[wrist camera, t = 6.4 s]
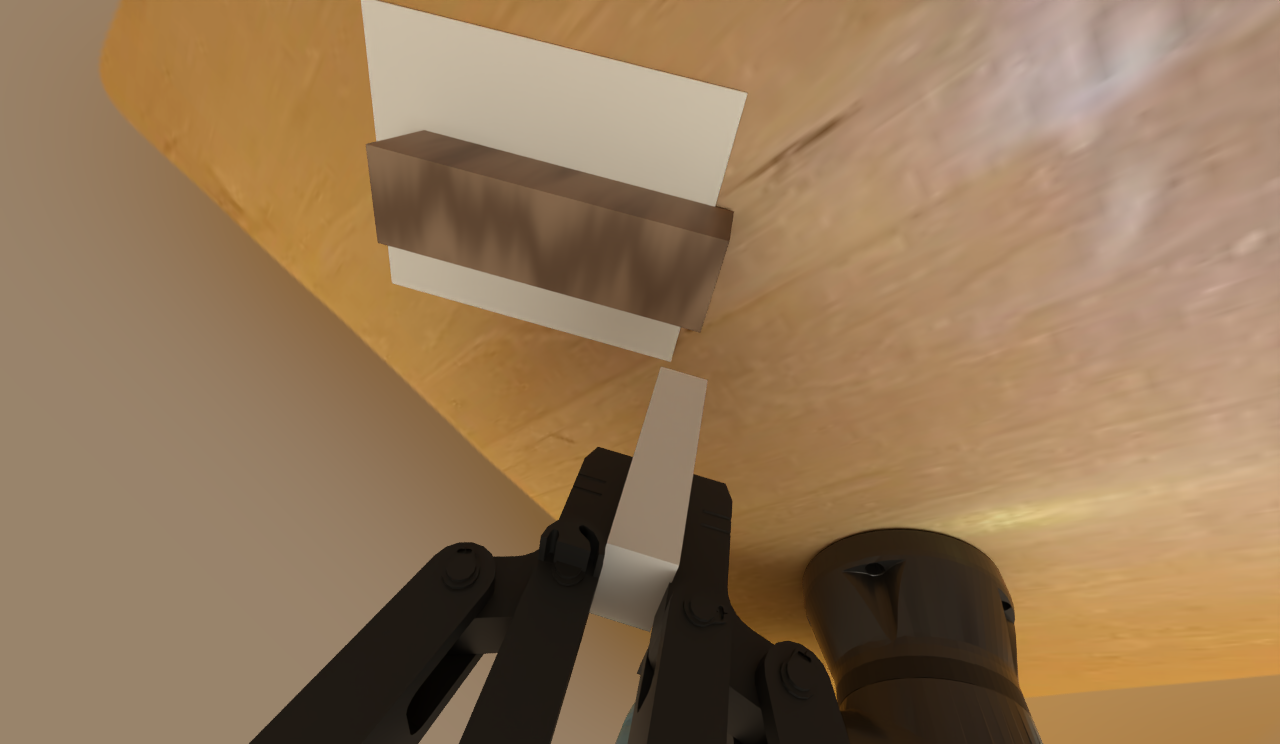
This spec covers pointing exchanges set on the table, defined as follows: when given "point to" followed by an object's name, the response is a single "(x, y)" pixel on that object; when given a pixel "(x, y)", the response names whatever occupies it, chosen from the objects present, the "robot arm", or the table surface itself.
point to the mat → (545, 141)
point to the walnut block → (549, 226)
